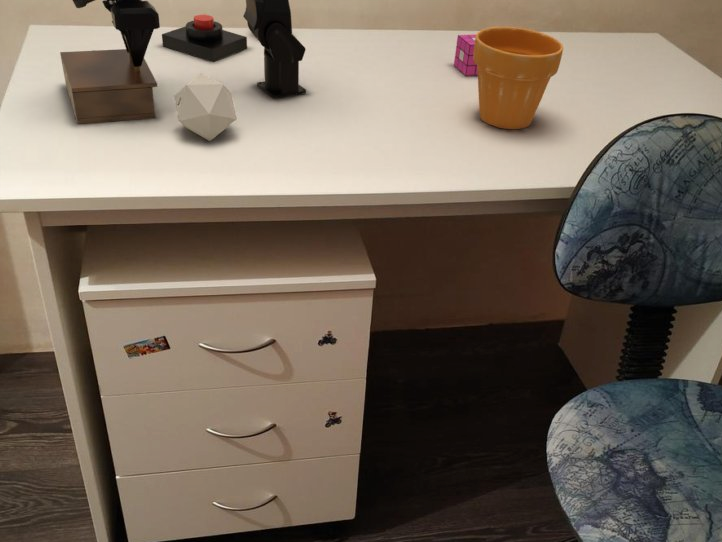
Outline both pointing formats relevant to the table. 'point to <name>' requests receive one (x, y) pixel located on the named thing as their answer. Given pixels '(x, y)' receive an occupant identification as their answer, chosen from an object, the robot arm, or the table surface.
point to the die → (205, 107)
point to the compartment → (111, 104)
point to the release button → (203, 22)
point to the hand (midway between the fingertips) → (134, 59)
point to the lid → (105, 70)
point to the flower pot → (513, 73)
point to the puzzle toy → (465, 55)
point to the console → (204, 41)
